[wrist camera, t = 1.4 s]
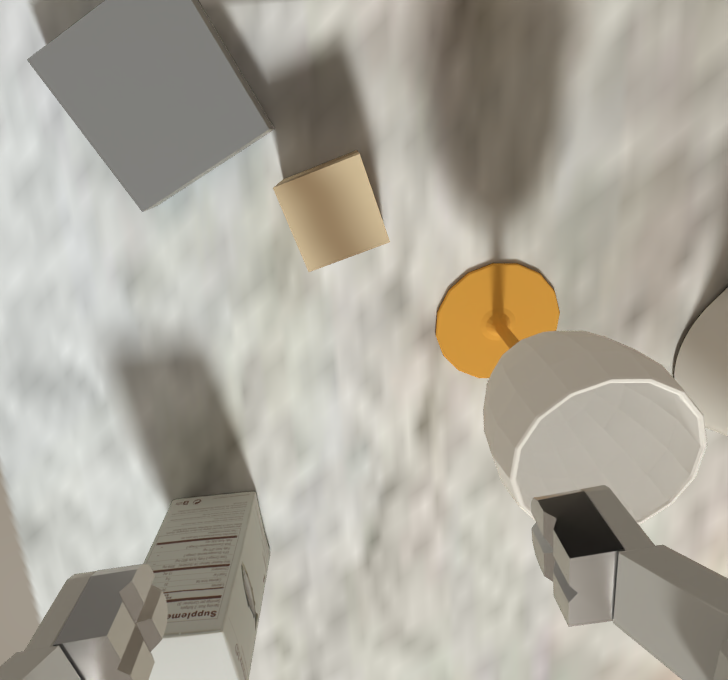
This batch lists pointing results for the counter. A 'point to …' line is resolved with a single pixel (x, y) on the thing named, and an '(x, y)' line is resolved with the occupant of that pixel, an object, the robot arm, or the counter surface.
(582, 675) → the counter surface
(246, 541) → the supplement box
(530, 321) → the cup
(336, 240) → the maple cube
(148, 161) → the plate
